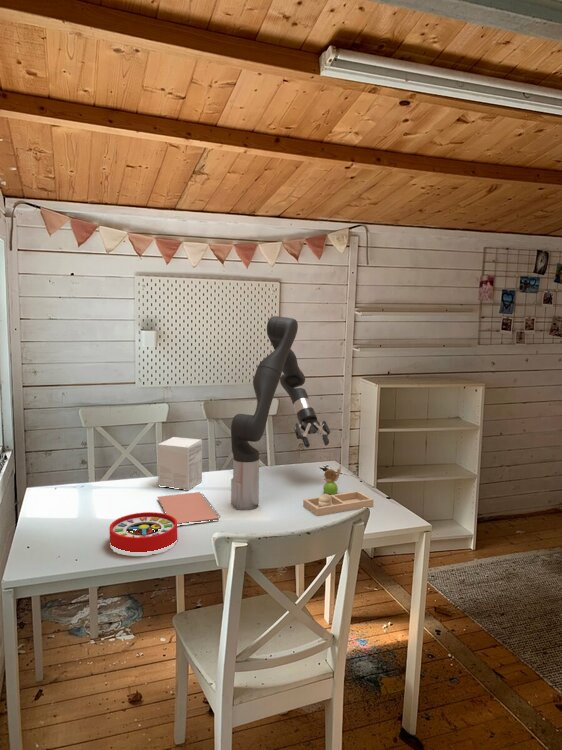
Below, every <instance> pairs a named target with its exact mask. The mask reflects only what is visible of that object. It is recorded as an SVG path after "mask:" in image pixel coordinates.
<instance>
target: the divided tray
mask: <svg viewBox="0 0 562 750" xmlns="http://www.w3.org/2000/svg"><path fill="white" fill-rule="evenodd" d="M319 497H320V496H317V497H310V498H304V499H303V501H302V502H303V508H305V509H306V510H308V511H309V512H311V513H312V514H313V515H315V516H316V517H320V516H325V515H330V514H339V513H342V512H343V513H344V512H350V511H355V510H360V509H364V508H363V507H367V508H373V507H374V499H373V498H371V497H370V496H369V495H368V496H367V495H366V494H364V493H363V492H360V491H359V490H356V491H348V492H343V493H336V494H335V495H330V497H331V499H332V505H330V506H324V507H318V504H319Z"/></svg>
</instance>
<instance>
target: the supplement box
mask: <svg viewBox="0 0 562 750" xmlns="http://www.w3.org/2000/svg"><path fill="white" fill-rule="evenodd" d="M157 469H158V470H157V471H158V473H157V475H158V477H157V478H158V480H157V482H158V485H160V486H166V487H174V488H179V489H185V490H188V491H190V490H191V489H193V488H194V487H196V486H197V485H198V483H199V484H200V483H202V482H203V439H199V438H198V439H197V438H189V437H188V438H187V437H178V436H177V437H176V436H172V437H170V438H169V439H166V440H164V441H162V442H159V443H158V444H157ZM201 481H202V482H201ZM196 484H197V485H196ZM158 485H157V486H158ZM195 485H196V486H195ZM193 486H194V487H193ZM192 487H193V488H192ZM190 488H191V489H190ZM189 489H190V490H189Z"/></svg>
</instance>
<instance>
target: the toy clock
mask: <svg viewBox="0 0 562 750" xmlns="http://www.w3.org/2000/svg"><path fill="white" fill-rule="evenodd" d="M108 529H109V530H108V531H109V544H110V543H111V545H112V546H114V547H116V548H118V549H121V550H125V551H130V552H147V551H154V550H158V549H161V548H164V547H167V546H169V545H171V544H172V543H174V542H175V541H176V540H177V541H178V527H177V520H176V519H175V518H174V517H172V516H170V515H167V514H165V513H164V512H163V513H162V512H155V511H153V512H152V511H151V512H150V511H149V512H148V511H145V512H135V513H131V514H127V515H124V516H121V517H119V518H117V519H115V520H114V521H112V522H111V523H110V525H109V528H108ZM133 529H137V530H136V531H135V530H133ZM152 529H154V530H155V532H154V530H152ZM158 529H161V530H159V531H158ZM127 531H128V532H127ZM130 531H133V533H132V532H130Z"/></svg>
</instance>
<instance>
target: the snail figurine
mask: <svg viewBox="0 0 562 750" xmlns="http://www.w3.org/2000/svg"><path fill="white" fill-rule="evenodd" d="M341 467H342V465H341V464H339V467H338V468H337V470H336V471H337V472H336V471H335V470H334V469H332V468H328V469H326V470H325V471H324V474H323V475H324V476H323V477H324V481H325V483H324V485H323V492H324V494H328V495H335V494H338V489H339V487H338V485H337V483H336V482H337V480H338V479H339V478H340V474H341V471H342V468H341Z"/></svg>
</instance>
